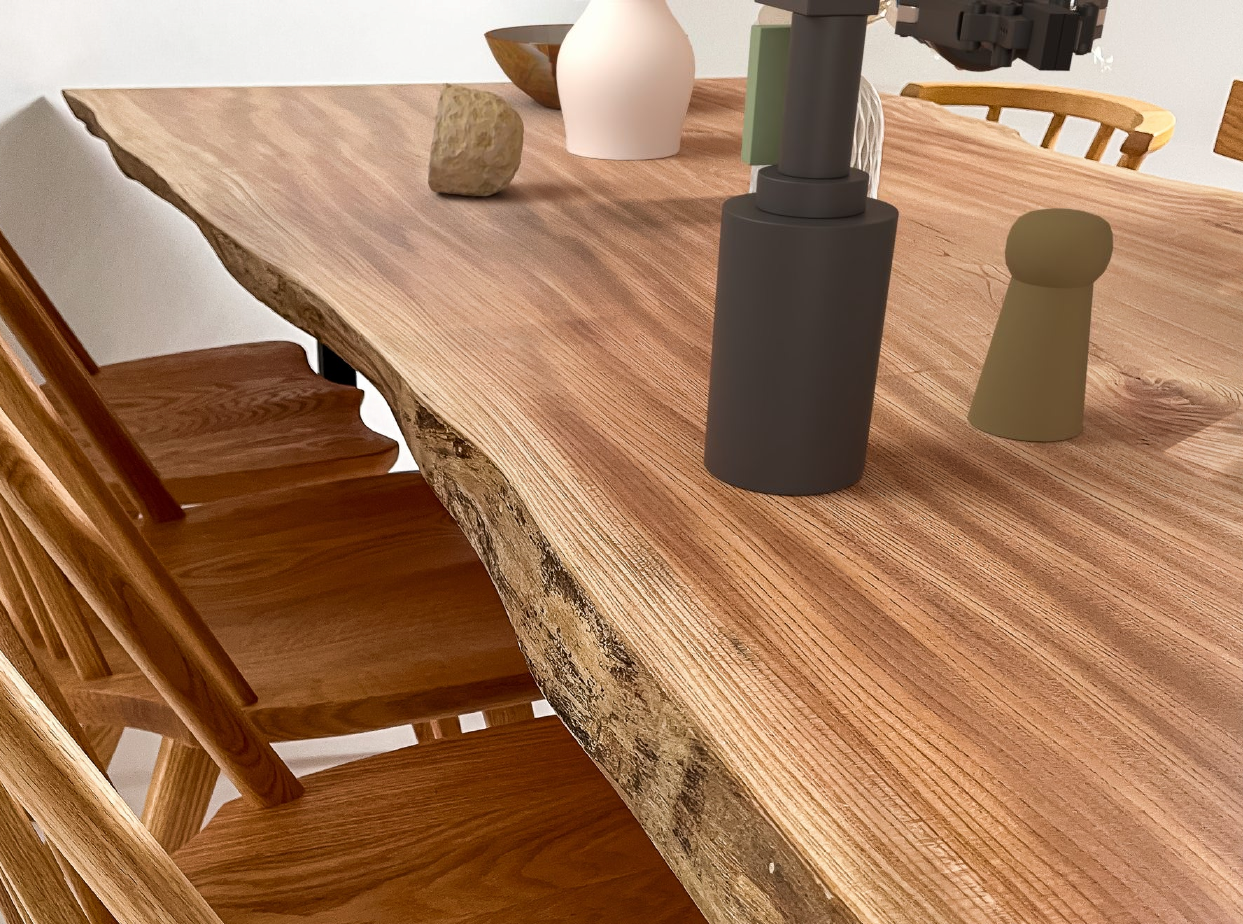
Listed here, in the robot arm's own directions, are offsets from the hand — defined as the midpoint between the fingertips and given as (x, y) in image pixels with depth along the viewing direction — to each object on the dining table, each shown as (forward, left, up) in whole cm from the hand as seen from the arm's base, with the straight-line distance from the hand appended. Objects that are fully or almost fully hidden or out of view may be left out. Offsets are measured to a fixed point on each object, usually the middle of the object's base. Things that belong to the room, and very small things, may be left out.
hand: (1059, 42), depth 73 cm
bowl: (+49, -101, -18) cm, 114 cm away
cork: (-1, +7, -18) cm, 20 cm away
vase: (+38, -70, -18) cm, 81 cm away
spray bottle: (+11, +16, -18) cm, 27 cm away
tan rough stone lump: (+46, -43, -18) cm, 65 cm away
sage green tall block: (+13, +12, -4) cm, 19 cm away
